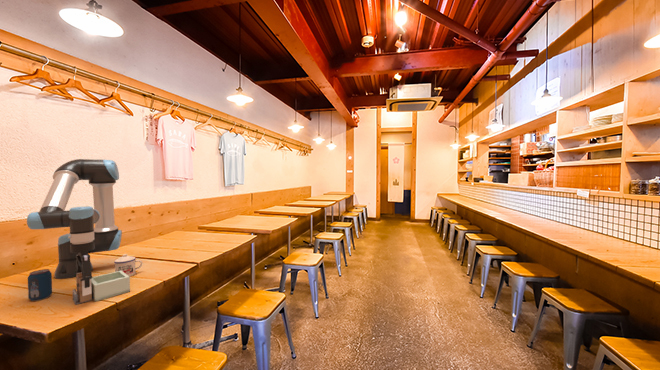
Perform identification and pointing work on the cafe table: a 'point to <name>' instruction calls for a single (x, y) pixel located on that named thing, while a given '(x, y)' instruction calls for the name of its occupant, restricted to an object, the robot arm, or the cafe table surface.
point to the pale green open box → (110, 285)
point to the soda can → (39, 285)
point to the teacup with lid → (126, 264)
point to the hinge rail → (75, 297)
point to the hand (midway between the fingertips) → (84, 290)
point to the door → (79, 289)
